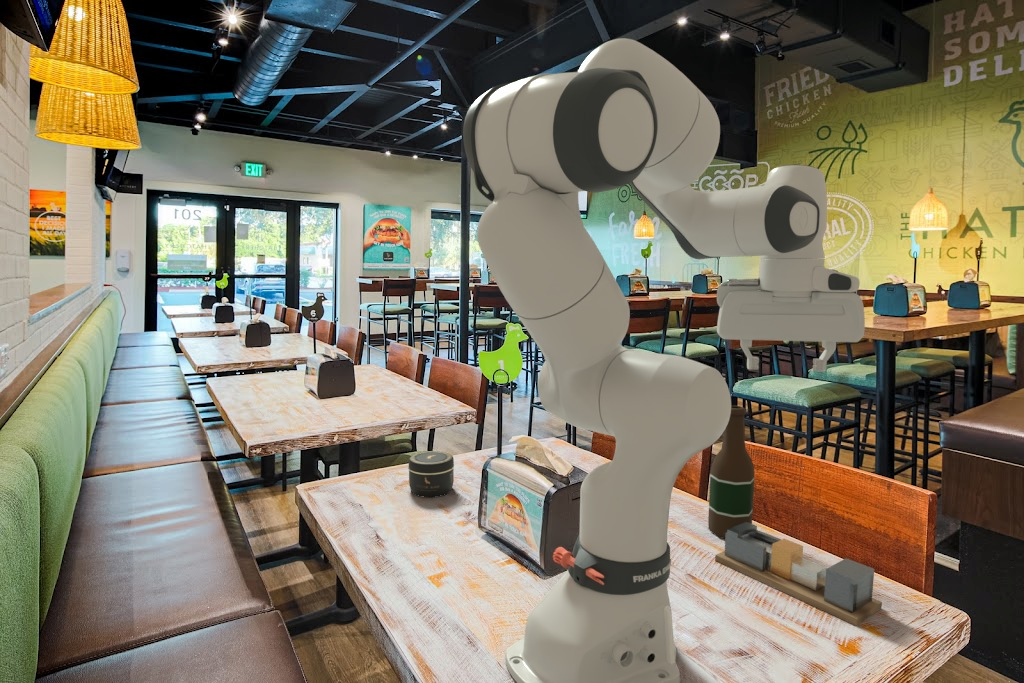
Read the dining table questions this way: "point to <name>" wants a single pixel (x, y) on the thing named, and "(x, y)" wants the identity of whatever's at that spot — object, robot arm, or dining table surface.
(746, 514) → the beer bottle
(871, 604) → the board
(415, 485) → the jar
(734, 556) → the grey u-shaped bracket
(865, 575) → the socket
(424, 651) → the dining table surface
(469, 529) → the dining table surface
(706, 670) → the dining table surface
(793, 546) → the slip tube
